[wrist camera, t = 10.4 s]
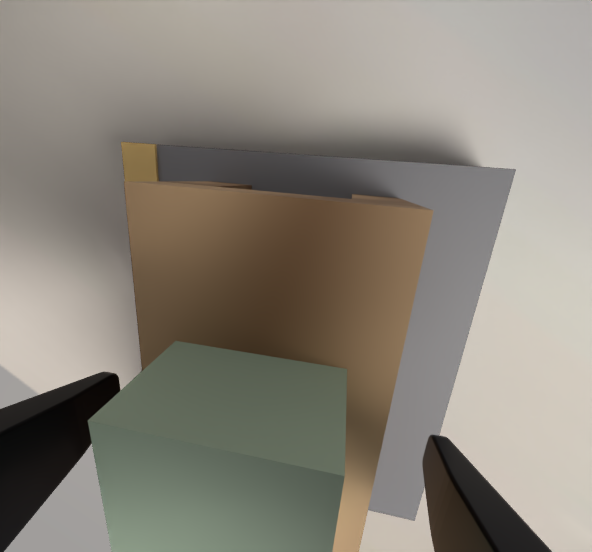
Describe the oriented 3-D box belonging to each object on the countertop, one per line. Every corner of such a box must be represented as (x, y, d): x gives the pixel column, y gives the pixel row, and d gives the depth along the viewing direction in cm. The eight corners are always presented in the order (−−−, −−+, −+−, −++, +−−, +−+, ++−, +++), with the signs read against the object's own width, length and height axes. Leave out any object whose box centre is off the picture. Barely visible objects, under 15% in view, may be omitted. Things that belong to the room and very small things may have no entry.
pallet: (399, 198, 9) (433, 210, 5) (346, 487, 13) (344, 616, 9) (210, 181, 10) (124, 181, 6) (213, 457, 14) (160, 563, 10)
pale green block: (346, 368, 6) (344, 476, 4) (324, 527, 8) (312, 671, 6) (175, 340, 7) (87, 421, 5) (185, 493, 9) (122, 611, 6)
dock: (485, 171, 10) (517, 168, 8) (406, 476, 15) (415, 523, 13) (159, 148, 12) (121, 142, 10) (176, 428, 16) (152, 462, 14)
